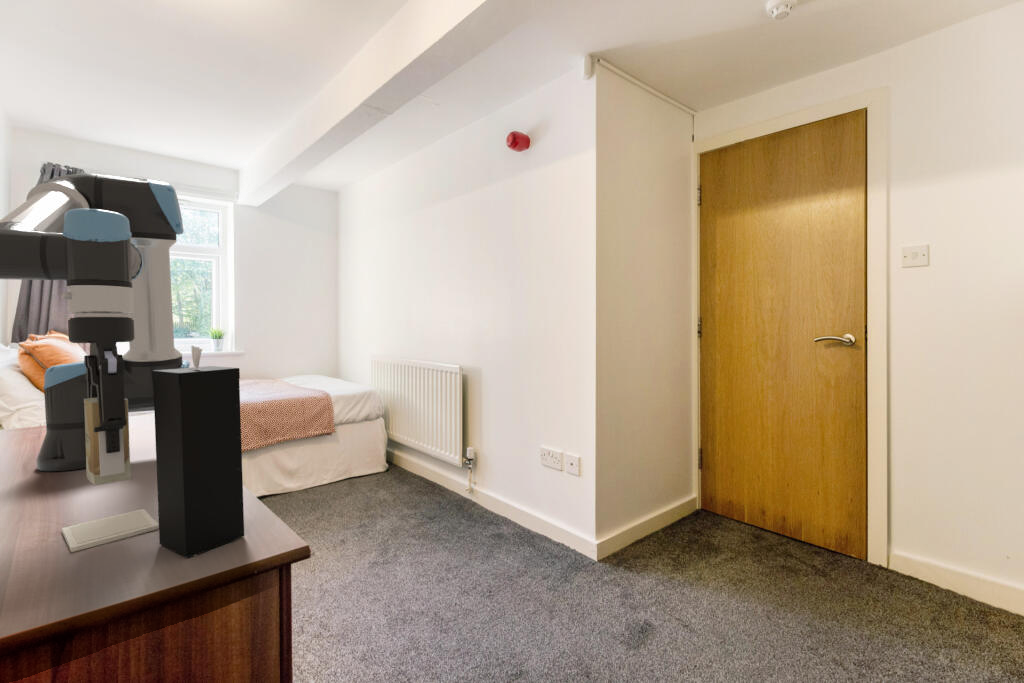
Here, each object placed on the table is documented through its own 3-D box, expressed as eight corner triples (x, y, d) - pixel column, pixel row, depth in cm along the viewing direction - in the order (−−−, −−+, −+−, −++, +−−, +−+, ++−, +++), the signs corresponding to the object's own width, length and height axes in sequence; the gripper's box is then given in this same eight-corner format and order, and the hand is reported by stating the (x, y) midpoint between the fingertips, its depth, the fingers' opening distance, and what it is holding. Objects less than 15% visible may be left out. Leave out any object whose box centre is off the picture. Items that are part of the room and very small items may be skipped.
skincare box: (85, 478, 73) (82, 398, 73) (121, 471, 77) (118, 394, 76) (94, 486, 69) (90, 401, 69) (132, 479, 73) (128, 397, 72)
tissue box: (185, 559, 64) (178, 347, 63) (158, 545, 68) (150, 346, 67) (245, 537, 71) (239, 345, 70) (216, 525, 75) (210, 344, 74)
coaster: (61, 532, 73) (61, 527, 73) (143, 512, 81) (143, 508, 80) (71, 552, 66) (70, 547, 66) (159, 528, 74) (159, 524, 74)
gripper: (59, 317, 76) (66, 463, 77) (77, 314, 63) (85, 489, 64) (120, 317, 81) (125, 453, 82) (148, 314, 69) (154, 476, 69)
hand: (108, 469), depth 73 cm, fingers closed on skincare box, 6 cm apart
